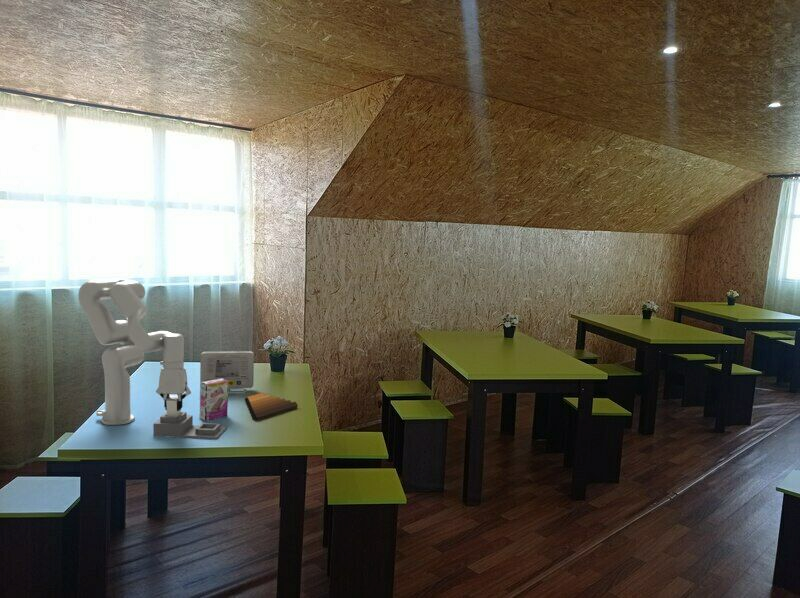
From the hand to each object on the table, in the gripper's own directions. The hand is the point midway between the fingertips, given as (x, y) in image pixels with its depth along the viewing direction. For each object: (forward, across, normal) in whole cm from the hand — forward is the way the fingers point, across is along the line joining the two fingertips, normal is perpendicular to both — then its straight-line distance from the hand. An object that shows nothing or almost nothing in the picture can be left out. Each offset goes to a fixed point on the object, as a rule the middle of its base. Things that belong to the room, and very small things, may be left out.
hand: (173, 409), depth 235 cm
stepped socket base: (+9, +7, 0) cm, 12 cm away
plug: (+4, 0, +1) cm, 4 cm away
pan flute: (+10, +26, +35) cm, 44 cm away
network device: (+10, +3, +60) cm, 61 cm away
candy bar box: (+9, +10, +19) cm, 23 cm away
